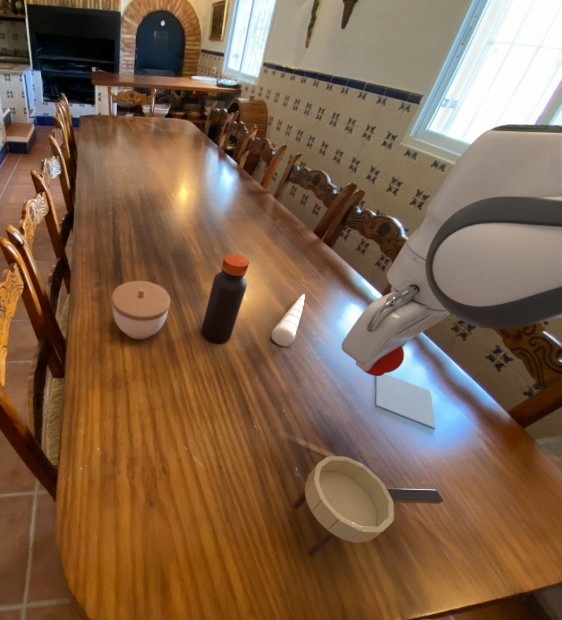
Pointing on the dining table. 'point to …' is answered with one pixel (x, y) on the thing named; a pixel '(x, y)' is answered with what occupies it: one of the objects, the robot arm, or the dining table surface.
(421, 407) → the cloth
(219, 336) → the bottle
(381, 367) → the tomato
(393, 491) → the pan
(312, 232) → the dining table surface
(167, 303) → the lidded bowl
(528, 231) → the robot arm
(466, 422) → the dining table surface
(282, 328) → the unicorn horn
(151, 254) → the dining table surface
